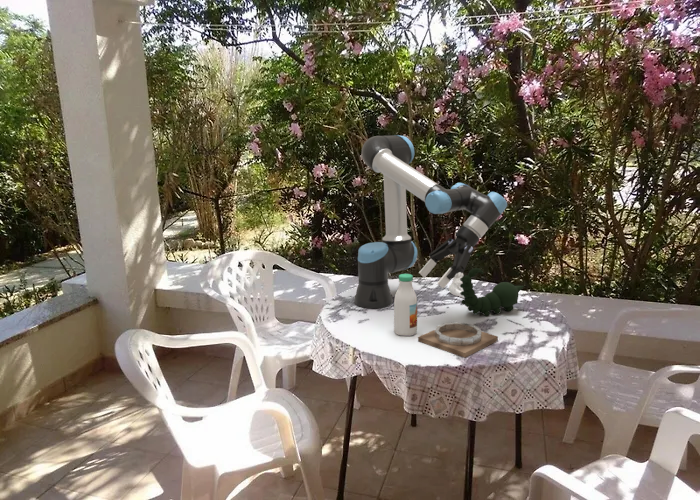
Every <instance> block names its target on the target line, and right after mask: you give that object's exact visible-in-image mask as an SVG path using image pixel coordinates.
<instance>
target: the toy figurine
mask: <svg viewBox="0 0 700 500" xmlns="http://www.w3.org/2000/svg"><path fill="white" fill-rule="evenodd" d="M477 274H482V275H483V274H484V271H483V270H482V269H481V268H479V267H475V268H472V269H470V270H469V271H468V274H466V275H465V274H464V275H463V277H462V278H460V280H461V281H462V283H463V284H461V285H460V287H461V288H463V291H462V292H461V293H460V294H461V295H463V296H464V297H465V298H463V299H462V300H461V304H462V305H465V307H467V310H468V311H469V312H472V313H473V315H478V314H479V313H481V314H483V315H484V316H485V317H487V316H490V312H493V313H495V314H500V313H501V311H502V309H501V308H503V310H504V311H505V312H512V311H513V310H514V305H516V304H518V302H519V301H518V300H519V292H520V291H521V290H522V289H523V288H524V285H514V284H513V283H511V282H507V281H502V282H499V283H498V284H495V286H493V288H492V290H491V292H487V293H486V294H485V295H483V296H479V297H477V295H476V292H475V289H474V284H473V282H472V278H473V277H475V276H476V275H477Z"/></svg>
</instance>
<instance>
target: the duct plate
mask: <svg viewBox="0 0 700 500" xmlns="http://www.w3.org/2000/svg"><path fill="white" fill-rule="evenodd" d="M441 334H443V335H446V336H449V337H453V338H468V337H472V336H475V334H474V333H472V332H468V331H465V330H446V331H444V332H441ZM417 338H418V339H417V342H419V343H422V344H425V345H428V346H431V347H434V348H435V349H439V350H442V351H445V352H448V353H451V354H454V355H457V356H458V357H462V358H468V357H469V356H471V355H473V354H475V353H477V352H479V351H481V350H483V349H485V348H487V347H488V346H489V347H490V346H491V345H492V344H495V343H497V342H498V341H499V336H497V335H494V334H491V333H487V332H484V331H482V332H481V341H480V342H478V343H476V344H473V345H465V346H458V345H450V344H446V343H443V342H440V341H438V340H437V339H436V338H435V329H433V330H431V331H429V332H426V333H424V334H421V335H419V336H418V337H417Z"/></svg>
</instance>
